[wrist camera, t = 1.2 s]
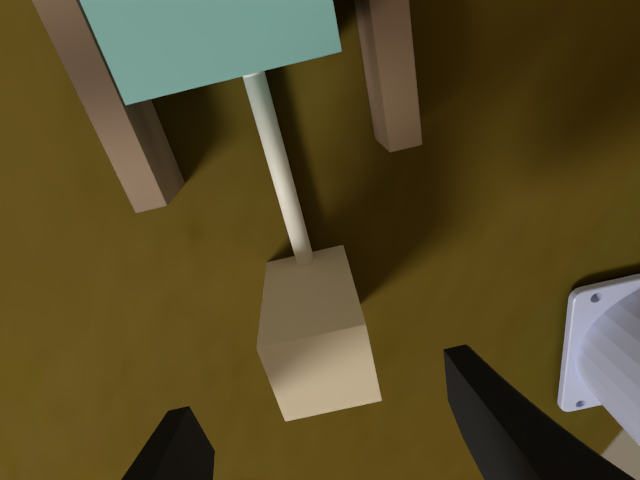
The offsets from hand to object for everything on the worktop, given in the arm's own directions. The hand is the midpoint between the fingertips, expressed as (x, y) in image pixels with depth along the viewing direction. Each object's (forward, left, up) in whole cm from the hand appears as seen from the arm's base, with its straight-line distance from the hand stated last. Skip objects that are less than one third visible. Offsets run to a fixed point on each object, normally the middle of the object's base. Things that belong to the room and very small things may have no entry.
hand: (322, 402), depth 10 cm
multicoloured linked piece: (0, -6, -6) cm, 8 cm away
